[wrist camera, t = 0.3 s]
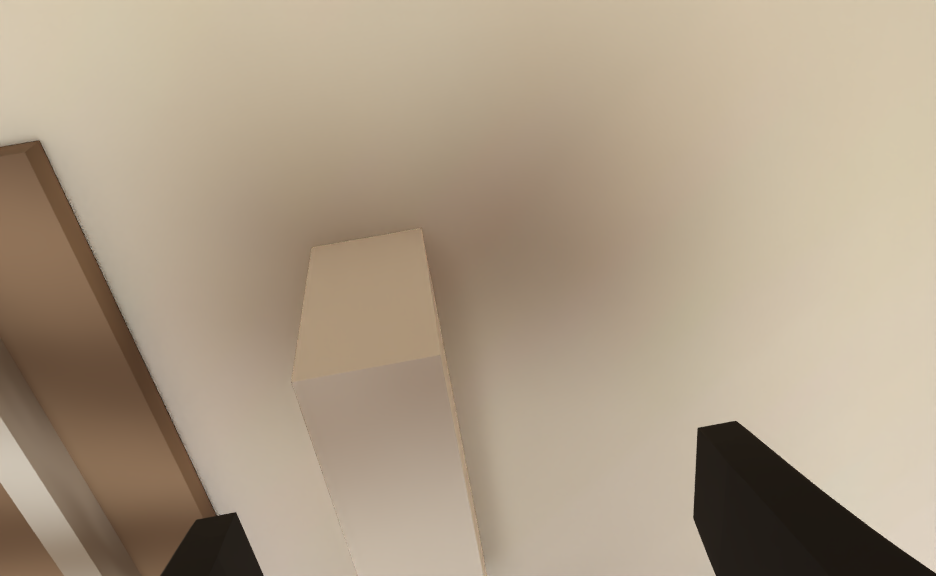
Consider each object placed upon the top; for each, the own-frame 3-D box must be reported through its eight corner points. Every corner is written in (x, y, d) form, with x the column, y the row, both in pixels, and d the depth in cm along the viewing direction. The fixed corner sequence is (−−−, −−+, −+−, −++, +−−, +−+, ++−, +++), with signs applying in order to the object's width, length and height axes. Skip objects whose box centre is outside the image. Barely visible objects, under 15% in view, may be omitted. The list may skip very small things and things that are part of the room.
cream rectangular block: (483, 556, 26) (521, 780, 20) (405, 572, 26) (417, 801, 20) (421, 225, 19) (448, 407, 13) (311, 244, 19) (282, 437, 13)
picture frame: (300, 693, 29) (295, 753, 27) (8, 750, 29) (-18, 814, 27) (39, 140, 17) (-6, 176, 15) (-482, 228, 16) (-600, 277, 14)
